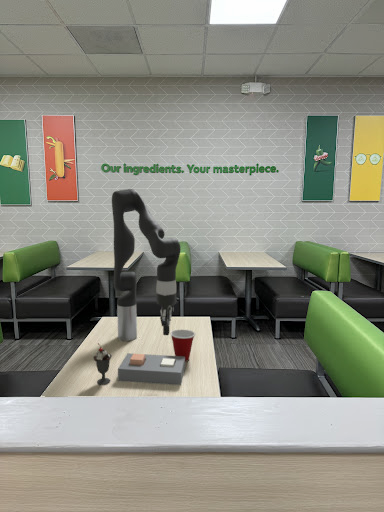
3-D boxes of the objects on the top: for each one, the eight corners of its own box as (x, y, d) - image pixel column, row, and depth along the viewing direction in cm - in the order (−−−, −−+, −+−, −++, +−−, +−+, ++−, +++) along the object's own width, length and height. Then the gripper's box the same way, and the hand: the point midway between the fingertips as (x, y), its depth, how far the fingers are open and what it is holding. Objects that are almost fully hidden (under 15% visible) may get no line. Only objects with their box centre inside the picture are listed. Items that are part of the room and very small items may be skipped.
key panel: (127, 364, 140) (127, 353, 140) (185, 367, 138) (185, 356, 137) (118, 381, 128) (117, 368, 127) (180, 385, 125) (181, 372, 125)
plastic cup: (198, 355, 150) (198, 329, 148) (190, 366, 139) (190, 339, 137) (175, 351, 153) (175, 326, 151) (166, 362, 143) (166, 335, 141)
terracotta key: (133, 363, 136) (133, 353, 135) (145, 363, 135) (145, 354, 134) (130, 368, 131) (130, 359, 130) (142, 369, 130) (142, 360, 130)
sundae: (96, 377, 130) (94, 340, 128) (113, 376, 131) (112, 340, 128) (92, 386, 124) (91, 348, 121) (111, 386, 124) (110, 348, 122)
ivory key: (163, 367, 135) (163, 358, 134) (174, 368, 134) (174, 358, 134) (160, 373, 130) (160, 364, 129) (173, 374, 130) (173, 364, 129)
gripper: (159, 286, 134) (159, 327, 137) (153, 295, 121) (153, 341, 124) (178, 286, 133) (178, 328, 136) (173, 296, 120) (173, 342, 123)
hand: (166, 334), depth 130 cm, fingers closed
